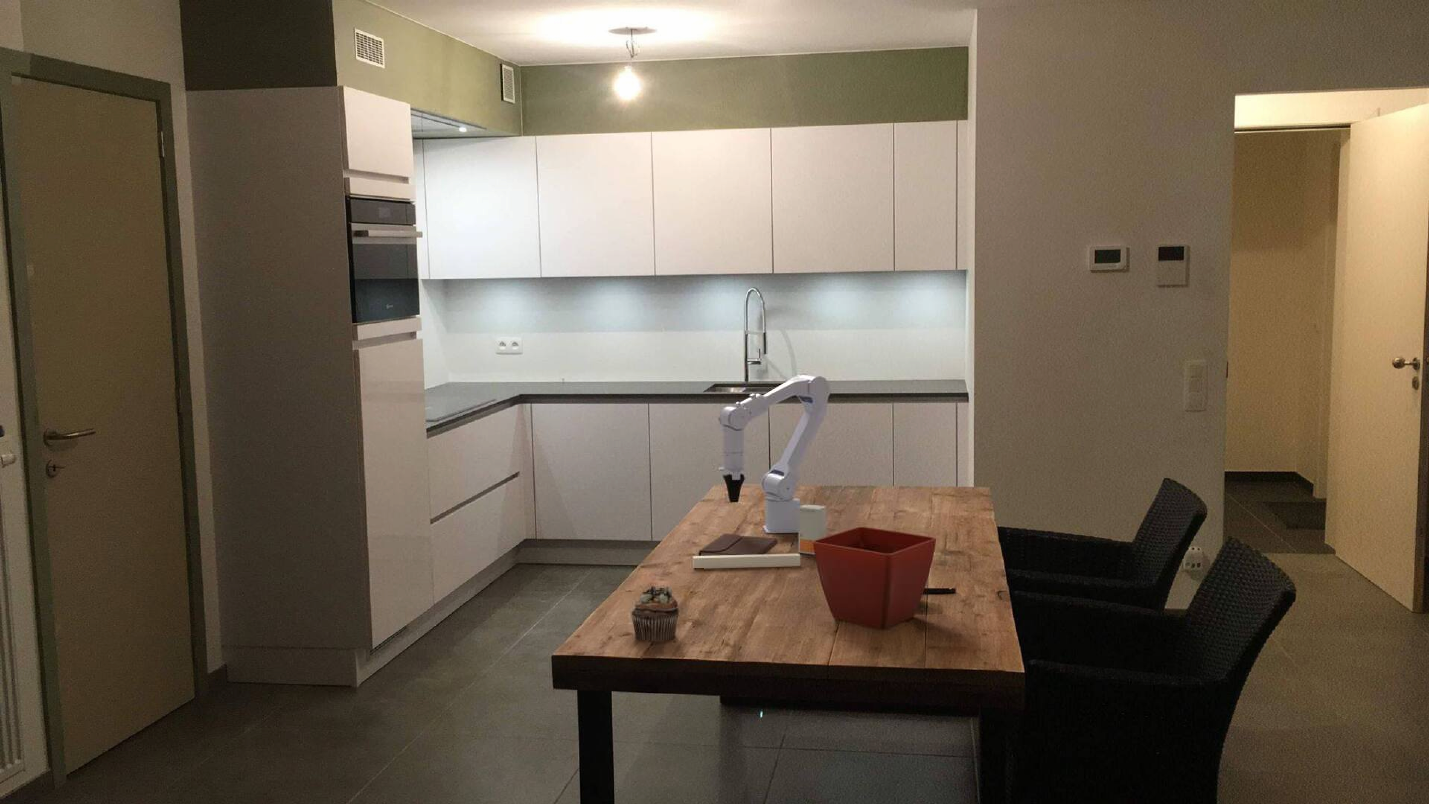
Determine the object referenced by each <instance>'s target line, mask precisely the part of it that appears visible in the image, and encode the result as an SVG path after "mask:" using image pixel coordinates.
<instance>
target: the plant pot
mask: <svg viewBox="0 0 1429 804" xmlns="http://www.w3.org/2000/svg"><path fill="white" fill-rule="evenodd" d="M936 542H937V538H936V537H933V536H925V535H920V534H914V533H907V532H901V531H896V530H889V529H882V528H881V529H880V528H874V527H868V526H858V527H855V528H851V529H848V530H844V531H841V532H838V533H835V534H831V535H829V536H826V537H824V538H821V539H818V540H814V541H813V546H814V553H815V555H814V559H815V563H816V569H817V572H818V577H819V580H820V584H821V587H822V591H823V594H824V597H825V600H826V603H827V605H828V608H829V611H830V614H831V616H832V618H833V619H834V620H838V621H842V622H847V623H852V624H856V625H861V626H867V627H870V626H871V627H870V628H874V629H875V628H876V629H879V630H881V629H882V630H884V629H889V628H891V627H894V626H895V625H898V624H899V623H901V622H904V620H905V621H907V620H909V619H911V618H914V617H915V615H916V613H917V610H918V608H919V605H920V603H921V599H922V597H923V594H924V592H925V589H926V585H927V582H928V579H929V576H930V572H931V567H932V563H933V560H934V556H935V555H934V554H935V550H936Z"/></svg>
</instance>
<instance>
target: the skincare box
mask: <svg viewBox="0 0 1429 804" xmlns="http://www.w3.org/2000/svg"><path fill="white" fill-rule="evenodd" d="M826 530H827V506H825V505H816V504H802V505H800V507H799V532H798V538H797V539H798V543H797V544H798V546H797V547H798V548H797V549H798V550H797V551H798V553H797V554H807V555H814V556H815V553H814V546H813V541H814V540H818V539H821V538H824V537H827V531H826Z"/></svg>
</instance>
